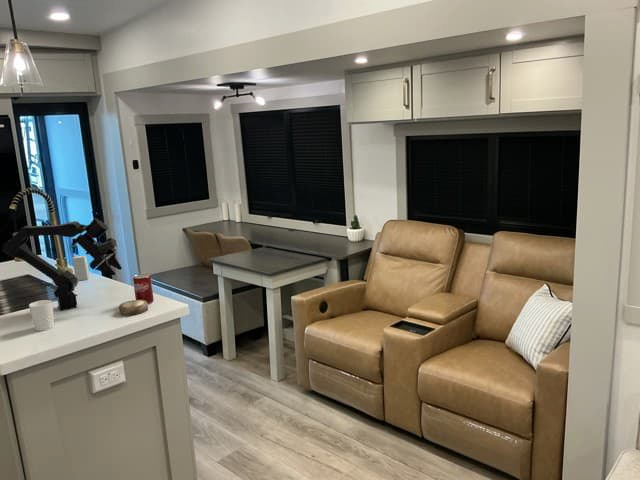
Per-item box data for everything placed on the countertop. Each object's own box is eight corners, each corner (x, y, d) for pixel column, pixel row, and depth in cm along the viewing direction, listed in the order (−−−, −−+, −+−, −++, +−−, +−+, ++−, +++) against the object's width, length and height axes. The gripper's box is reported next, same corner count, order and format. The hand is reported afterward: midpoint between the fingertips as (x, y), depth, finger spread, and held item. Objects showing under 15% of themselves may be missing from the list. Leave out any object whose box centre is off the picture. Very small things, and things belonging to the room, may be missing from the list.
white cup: (38, 325, 207) (34, 300, 205) (59, 323, 208) (55, 299, 206) (29, 332, 199) (25, 307, 197) (51, 330, 200) (46, 305, 198)
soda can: (148, 305, 223) (145, 278, 221) (132, 305, 225) (129, 278, 222) (157, 300, 230) (153, 273, 228) (141, 300, 232) (138, 273, 229)
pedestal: (125, 317, 209) (124, 310, 209) (116, 311, 218) (115, 304, 217) (152, 310, 216) (151, 303, 215) (142, 304, 225) (141, 297, 224)
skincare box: (90, 277, 274) (86, 255, 272) (88, 280, 270) (84, 257, 267) (77, 278, 273) (74, 256, 271) (75, 281, 269) (71, 258, 266)
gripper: (96, 237, 213) (125, 264, 216) (110, 228, 231) (137, 254, 234) (77, 255, 214) (106, 282, 217) (92, 245, 232) (119, 271, 235)
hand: (118, 271), depth 226 cm, fingers open, 9 cm apart
